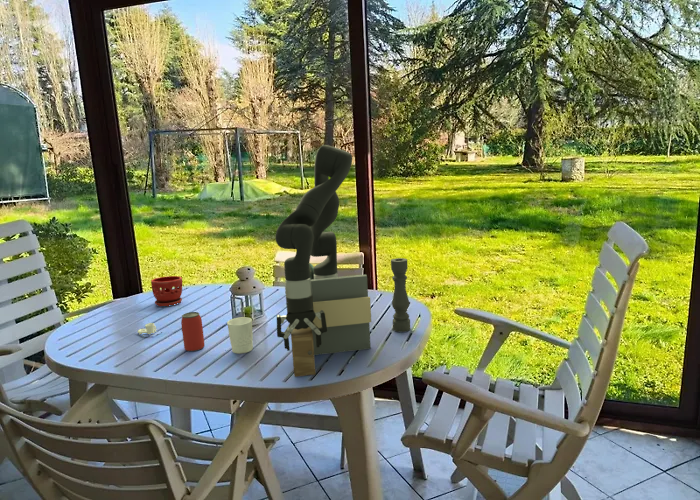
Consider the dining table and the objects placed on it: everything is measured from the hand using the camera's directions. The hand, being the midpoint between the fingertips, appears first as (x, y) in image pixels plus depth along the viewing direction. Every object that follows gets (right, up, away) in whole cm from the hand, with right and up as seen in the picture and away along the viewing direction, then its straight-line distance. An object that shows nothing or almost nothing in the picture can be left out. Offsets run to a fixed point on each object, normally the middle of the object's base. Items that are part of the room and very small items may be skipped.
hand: (303, 348), depth 141 cm
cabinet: (0, -7, +1) cm, 7 cm away
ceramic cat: (-5, +7, +80) cm, 80 cm away
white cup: (-22, -5, +21) cm, 31 cm away
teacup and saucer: (-62, -3, +45) cm, 76 cm away
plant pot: (-69, +4, +81) cm, 106 cm away
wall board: (+8, -4, +16) cm, 18 cm away
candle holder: (+32, 0, +32) cm, 45 cm away
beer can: (-39, -5, +24) cm, 46 cm away
